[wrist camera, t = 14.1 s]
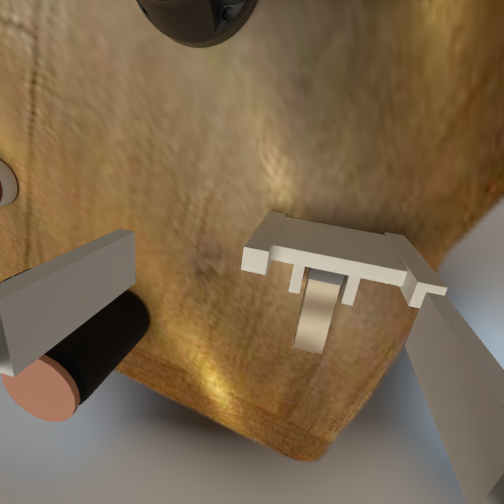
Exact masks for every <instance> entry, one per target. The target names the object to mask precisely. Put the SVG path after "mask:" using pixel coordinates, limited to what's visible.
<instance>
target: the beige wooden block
mask: <svg viewBox="0 0 504 504" xmlns="http://www.w3.org/2000/svg"><path fill="white" fill-rule="evenodd" d="M343 279H344V275H343V274H339V273H334V272H329V271H324V270H319V269H314V268H310V267H309V272H308V277H307V281H306V286H305V290H304V294H303V299H302V303H301V308H300V312H299V317H298V321H297V326H296V332H295V339H294V348H298V349H302V350H306V351H310V352H314V353H318V354H322V351H323V348H324V344H325V340H326V337H327V333H328V329H329V326H330V322H331V318H332V315H333V311H334V307H335V304H336V300H337V297H338V293H339V289H340V286H342V282H343Z"/></svg>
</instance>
